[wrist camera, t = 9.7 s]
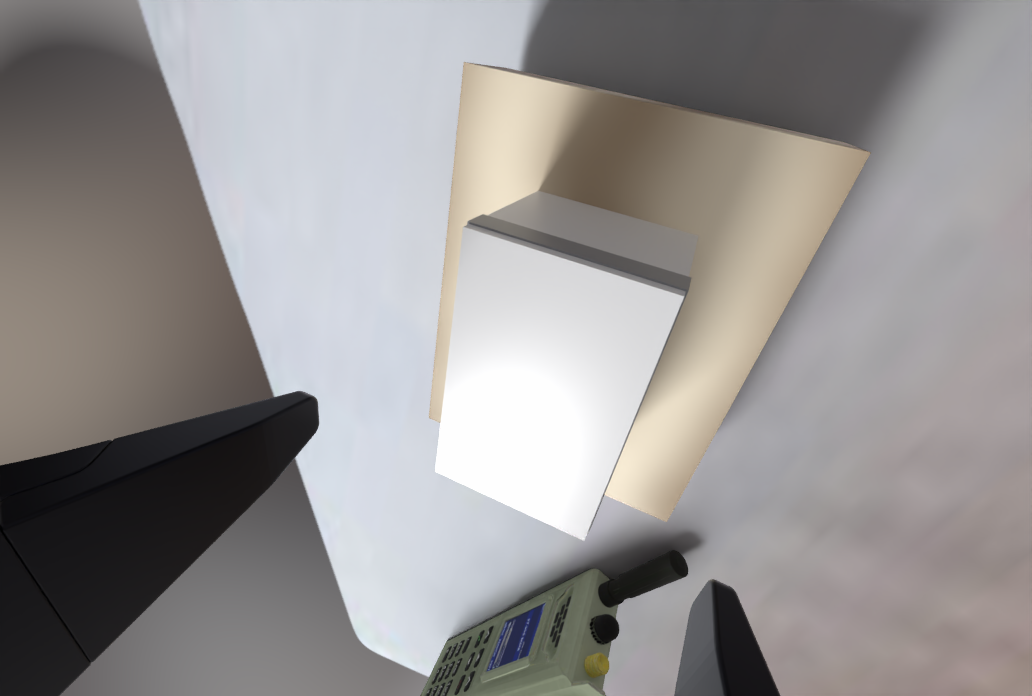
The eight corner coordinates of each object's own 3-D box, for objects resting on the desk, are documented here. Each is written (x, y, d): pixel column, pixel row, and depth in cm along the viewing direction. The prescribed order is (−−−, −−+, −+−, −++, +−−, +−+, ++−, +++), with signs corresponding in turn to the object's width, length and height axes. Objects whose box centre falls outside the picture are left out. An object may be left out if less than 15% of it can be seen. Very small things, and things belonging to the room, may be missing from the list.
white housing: (700, 234, 13) (687, 295, 9) (618, 439, 18) (584, 542, 13) (537, 188, 14) (461, 223, 10) (498, 390, 19) (433, 471, 15)
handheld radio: (442, 635, 39) (657, 520, 24) (472, 659, 39) (704, 559, 24) (397, 725, 33) (640, 647, 19) (433, 752, 33) (701, 697, 19)
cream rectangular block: (839, 140, 14) (870, 152, 11) (676, 458, 22) (666, 522, 18) (515, 69, 17) (463, 62, 14) (469, 374, 24) (428, 417, 21)
